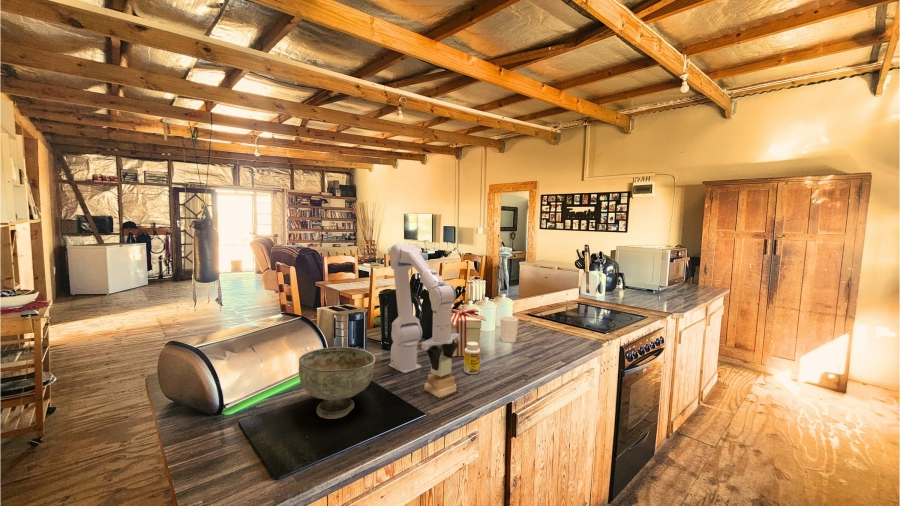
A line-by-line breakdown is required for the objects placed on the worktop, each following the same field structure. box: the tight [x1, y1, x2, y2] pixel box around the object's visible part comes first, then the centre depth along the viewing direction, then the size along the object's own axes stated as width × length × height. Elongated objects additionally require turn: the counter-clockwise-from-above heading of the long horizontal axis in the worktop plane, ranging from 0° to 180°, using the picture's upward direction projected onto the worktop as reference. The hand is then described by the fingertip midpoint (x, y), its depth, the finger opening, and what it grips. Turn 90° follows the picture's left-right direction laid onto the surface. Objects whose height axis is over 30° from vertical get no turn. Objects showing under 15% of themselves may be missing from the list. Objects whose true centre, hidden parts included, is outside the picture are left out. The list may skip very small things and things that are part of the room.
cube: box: [430, 354, 453, 377], centre depth 115 cm, size 4×4×4 cm
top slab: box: [427, 373, 456, 390], centre depth 115 cm, size 6×6×2 cm
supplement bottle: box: [463, 342, 481, 375], centre depth 130 cm, size 6×6×10 cm
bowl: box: [298, 346, 376, 420], centre depth 102 cm, size 20×19×15 cm
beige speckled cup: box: [499, 315, 519, 344], centre depth 165 cm, size 8×8×10 cm
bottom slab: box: [424, 381, 457, 399], centre depth 115 cm, size 7×7×2 cm
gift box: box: [441, 308, 487, 357], centre depth 149 cm, size 17×18×17 cm
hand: (440, 367), depth 115 cm, fingers closed on cube, 4 cm apart
